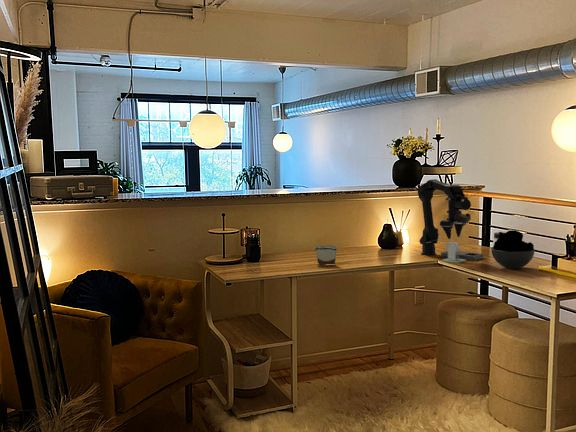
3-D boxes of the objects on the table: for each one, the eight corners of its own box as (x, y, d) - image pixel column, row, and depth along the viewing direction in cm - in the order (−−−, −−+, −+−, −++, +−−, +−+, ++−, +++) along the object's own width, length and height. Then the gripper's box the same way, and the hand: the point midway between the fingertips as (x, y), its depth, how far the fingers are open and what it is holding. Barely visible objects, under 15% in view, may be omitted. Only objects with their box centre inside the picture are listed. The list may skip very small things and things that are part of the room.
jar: (502, 256, 312) (503, 234, 310) (490, 254, 318) (490, 233, 317) (512, 254, 317) (513, 233, 315) (500, 252, 323) (500, 231, 322)
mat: (441, 260, 305) (441, 259, 305) (449, 258, 310) (449, 257, 310) (458, 262, 298) (458, 262, 298) (466, 260, 303) (466, 259, 303)
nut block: (447, 260, 304) (447, 245, 303) (452, 258, 307) (452, 244, 306) (455, 260, 301) (455, 246, 300) (459, 259, 304) (459, 245, 303)
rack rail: (440, 257, 315) (440, 252, 315) (450, 254, 322) (450, 250, 322) (473, 261, 301) (473, 256, 300) (483, 258, 307) (483, 253, 307)
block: (446, 256, 316) (446, 242, 315) (450, 255, 319) (450, 241, 318) (453, 257, 313) (453, 243, 312) (457, 256, 316) (457, 242, 315)
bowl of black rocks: (530, 264, 287) (530, 228, 285) (538, 273, 267) (538, 233, 265) (488, 264, 291) (488, 228, 289) (493, 272, 272) (493, 233, 270)
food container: (340, 263, 306) (339, 245, 305) (337, 265, 300) (337, 247, 299) (318, 262, 310) (318, 244, 309) (315, 265, 304) (314, 246, 303)
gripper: (458, 211, 289) (458, 241, 290) (476, 208, 301) (476, 236, 303) (439, 210, 297) (439, 239, 298) (457, 207, 309) (457, 235, 311)
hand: (453, 237), depth 302 cm, fingers open, 9 cm apart
